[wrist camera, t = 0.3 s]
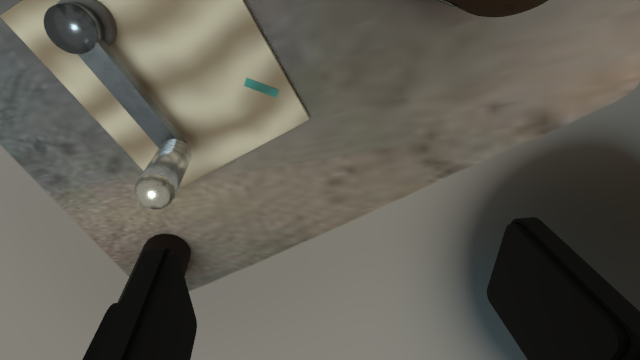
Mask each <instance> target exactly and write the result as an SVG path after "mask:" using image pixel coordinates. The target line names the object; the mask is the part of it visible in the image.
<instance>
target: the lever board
mask: <svg viewBox="0 0 640 360" xmlns="http://www.w3.org/2000/svg"><path fill="white" fill-rule="evenodd" d="M67 2H78V3H81V4H84V5H86V6H88V7H89V8H91V9H92V10H93V11H94V12H95V13H96V14H97V15H98V16H99V18H100V19H101V21H102V23H103V26H104V31H105V35H104V40H105V41H106V43H107V44H108V45H109V46H110V48H111V49H112V50H113V51H114V53H115V54H116V55H117V56H118V58H119V59H120V60H121V61H122V62H123V64H124V65H125V66H126V67H127V69H128V70H129V71H130V72H131V74H132V75H133V76H134V77H135V79H136V80H137V81H138V82H139V84H140V85H141V86H142V87H143V89H144V90H145V91H146V92H147V93H148V95H149V96H150V97H151V98H152V100H153V101H154V102H155V103H156V105H157V106H158V107H159V108H160V110H161V111H162V112H163V113H164V115H165V116H166V117H167V118H168V120H169V121H170V122H171V123H172V124H173V126H174V127H175V128H176V129H177V131H178V132H179V133H180V134H181V136H182V137H183V138H184V139H185V141H186V142H187V145H188V146H189V147H190V149H191V152H192V158H191V160H190V163H189V165H188V167H187V170H186V172H185V174H184V177H183V179H182V181H181V184H180V186H179V188H181V187H183V186H185V185H187V184H189V183H190V182H192V181H194V180H196V179H198V178H200V177H202V176H204V175H206V174H207V173H209V172H211V171H213V170H215V169H217V168H219V167H221V166H223V165H225V164H226V163H228V162H230V161H232V160H234V159H236V158H238V157H240V156H242V155H244V154H245V153H247V152H249V151H251V150H253V149H255V148H257V147H259V146H261V145H262V144H264V143H266V142H268V141H270V140H272V139H274V138H276V137H278V136H280V135H281V134H283V133H285V132H287V131H289V130H291V129H293V128H295V127H297V126H298V125H300V124H302V123H304V122H306V121H308V120H310V118H309V115H308V114H307V112H306V110H305V108H304V106H303V105H302V103H301V101H300V99H299V98H298V96H297V94H296V92H295V90H294V89H293V87H292V85H291V83H290V82H289V80H288V78H287V76H286V75H285V73H284V71H283V69H282V67H281V66H280V64H279V62H278V60H277V59H276V57H275V55H274V53H273V51H272V50H271V48H270V46H269V44H268V43H267V41H266V39H265V37H264V36H263V34H262V32H261V30H260V28H259V27H258V25H257V23H256V21H255V20H254V18H253V16H252V14H251V12H250V11H249V9H248V7H247V5H246V4H245V2H244V0H23V1H21V2H20V3H18V4H17V5H15V6H14V7H12V8H11V9H9V10H8V11H6V12H5V13H3V14H2V15H1V16H0V17H1V18H2V19H3V20H4V21H5V22H6V23H7V24H8V26H9V27H10V28H11V29H12V30H13V31H14V32H15V33H16V34H17V35H18V36H19V37H20V38H21V40H22V41H23V42H24V43H25V44H26V45H27V46H28V47H29V48H30V49H31V50H32V51H33V52H34V54H35V55H36V56H37V57H38V58H39V59H40V60H41V61H42V62H43V63H44V64H45V65H46V66H47V67H48V69H49V70H50V71H51V72H52V73H53V74H54V75H55V76H56V77H57V78H58V79H59V80H60V81H61V83H62V84H63V85H64V86H65V87H66V88H67V89H68V90H69V91H70V92H71V93H72V94H73V95H74V96H75V98H76V99H77V100H78V101H79V102H80V103H81V104H82V105H83V106H84V107H85V108H86V109H87V110H88V112H89V113H90V114H91V115H92V116H93V117H94V118H95V119H96V120H97V121H98V122H99V123H100V124H101V126H102V127H103V128H104V129H105V130H106V131H107V132H108V133H109V134H110V135H111V136H112V137H113V138H114V139H115V141H116V142H117V143H118V144H119V145H120V146H121V147H122V148H123V149H124V150H125V151H126V152H127V153H128V155H129V156H130V157H131V158H132V159H133V160H134V161H135V162H136V163H137V164H138V165H139V166H140V167H141V168H142V170H143V171H144V170H145V169H146V167H147V166H148V164H149V163H150V161H151V159H152V158H153V156H154V155H155V153H156V152H157V150H158V147H157V146H156V145H155V143H154V142H153V141H152V140H151V139H150V138H149V136H148V135H147V134H146V133H145V132H144V131H143V130H142V128H141V127H140V126H139V125H138V124H137V123H136V121H135V120H134V119H133V118H132V117H131V116H130V115H129V113H128V112H127V111H126V110H125V109H124V108H123V106H122V105H121V104H120V103H119V102H118V101H117V100H116V98H115V97H114V96H113V95H112V94H111V93H110V91H109V90H108V89H107V88H106V87H105V86H104V85H103V83H102V82H101V81H100V80H99V79H98V78H97V76H96V75H95V74H94V73H93V72H92V71H91V69H90V68H89V67H88V66H87V65H86V64H85V63H84V61H83V60H82V59H81V58H80V57H79V56H78V54H72V53H68V52H66V51H64V50H62V49H60V48H59V47H57V46H56V45H55V44H54V43H53V42H52V41H51V40H50V38H49V37H48V35H47V33H46V31H45V28H44V15H45V13H46V11H47V10H48V9H49V8H50V7H51V6H53V5H56V4H61V3H67ZM179 188H178V189H179Z"/></svg>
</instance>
